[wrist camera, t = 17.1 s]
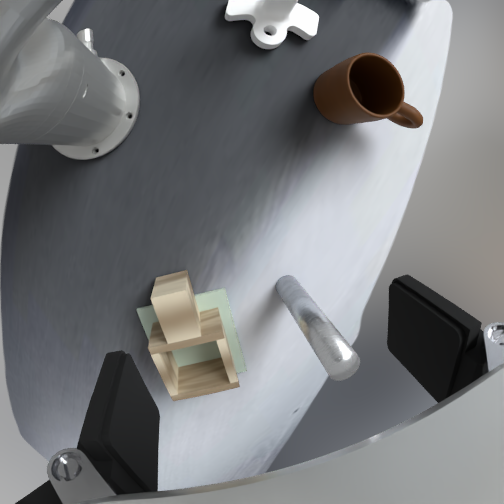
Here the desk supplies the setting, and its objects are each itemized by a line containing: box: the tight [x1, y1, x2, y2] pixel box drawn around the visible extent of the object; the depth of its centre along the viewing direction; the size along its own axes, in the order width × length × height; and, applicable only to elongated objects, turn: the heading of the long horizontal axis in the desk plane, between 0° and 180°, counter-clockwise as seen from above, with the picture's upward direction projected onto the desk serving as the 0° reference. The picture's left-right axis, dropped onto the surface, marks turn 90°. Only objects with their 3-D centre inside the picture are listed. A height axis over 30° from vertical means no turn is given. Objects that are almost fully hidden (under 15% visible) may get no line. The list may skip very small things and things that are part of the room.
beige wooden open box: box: [148, 270, 240, 401], centre depth 37 cm, size 15×9×6 cm, turn 11°
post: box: [276, 275, 360, 381], centre depth 33 cm, size 3×3×18 cm
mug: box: [313, 53, 423, 128], centre depth 31 cm, size 12×8×9 cm, turn 67°
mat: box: [136, 288, 247, 373], centre depth 41 cm, size 14×12×1 cm
